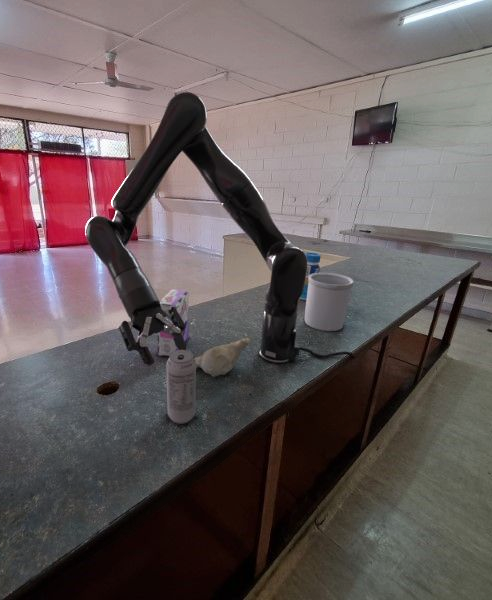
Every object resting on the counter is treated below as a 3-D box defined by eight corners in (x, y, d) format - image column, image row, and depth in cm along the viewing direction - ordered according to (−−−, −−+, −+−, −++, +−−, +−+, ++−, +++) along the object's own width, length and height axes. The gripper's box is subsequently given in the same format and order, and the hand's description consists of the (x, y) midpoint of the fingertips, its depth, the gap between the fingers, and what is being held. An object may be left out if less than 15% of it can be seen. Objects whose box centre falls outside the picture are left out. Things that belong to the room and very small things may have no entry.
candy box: (176, 358, 91) (176, 305, 85) (157, 356, 92) (155, 303, 86) (189, 337, 104) (189, 289, 98) (171, 335, 105) (171, 288, 99)
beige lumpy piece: (191, 390, 81) (237, 367, 74) (180, 363, 83) (224, 338, 76) (220, 378, 94) (261, 358, 87) (210, 355, 96) (250, 334, 89)
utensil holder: (337, 336, 107) (347, 287, 101) (296, 324, 116) (302, 278, 109) (349, 322, 118) (358, 277, 112) (310, 312, 127) (317, 270, 120)
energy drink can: (196, 407, 72) (197, 349, 66) (193, 426, 66) (193, 364, 61) (170, 405, 72) (169, 347, 67) (164, 424, 66) (163, 362, 61)
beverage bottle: (293, 294, 147) (299, 252, 140) (311, 294, 148) (317, 252, 141) (300, 301, 139) (307, 256, 132) (319, 300, 140) (326, 256, 133)
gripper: (112, 291, 64) (146, 363, 60) (168, 279, 73) (201, 340, 69) (102, 308, 69) (133, 375, 66) (156, 294, 79) (185, 352, 75)
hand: (168, 357), depth 68 cm, fingers open, 8 cm apart
